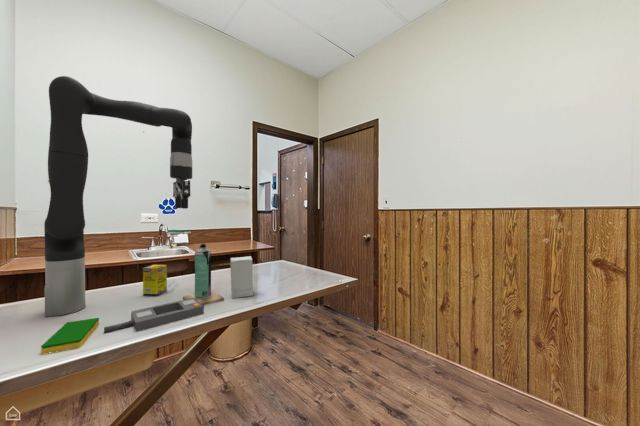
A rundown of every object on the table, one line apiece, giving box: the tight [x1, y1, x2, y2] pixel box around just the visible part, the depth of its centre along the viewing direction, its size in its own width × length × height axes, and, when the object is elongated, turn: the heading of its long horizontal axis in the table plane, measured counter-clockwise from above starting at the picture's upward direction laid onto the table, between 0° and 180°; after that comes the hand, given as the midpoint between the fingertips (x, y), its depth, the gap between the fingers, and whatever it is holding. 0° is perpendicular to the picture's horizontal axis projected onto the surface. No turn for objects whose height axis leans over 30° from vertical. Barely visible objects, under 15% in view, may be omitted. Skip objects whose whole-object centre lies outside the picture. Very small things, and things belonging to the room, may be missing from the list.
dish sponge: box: [40, 317, 100, 355], centre depth 67 cm, size 7×14×2 cm, turn 26°
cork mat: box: [182, 289, 225, 306], centre depth 94 cm, size 11×11×1 cm
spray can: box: [194, 243, 212, 300], centre depth 94 cm, size 6×6×20 cm
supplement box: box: [142, 264, 168, 297], centre depth 100 cm, size 6×6×11 cm
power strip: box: [103, 298, 205, 333], centre depth 78 cm, size 24×10×3 cm, turn 133°
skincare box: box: [230, 255, 254, 299], centre depth 100 cm, size 8×6×15 cm
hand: (181, 208), depth 97 cm, fingers open, 8 cm apart
